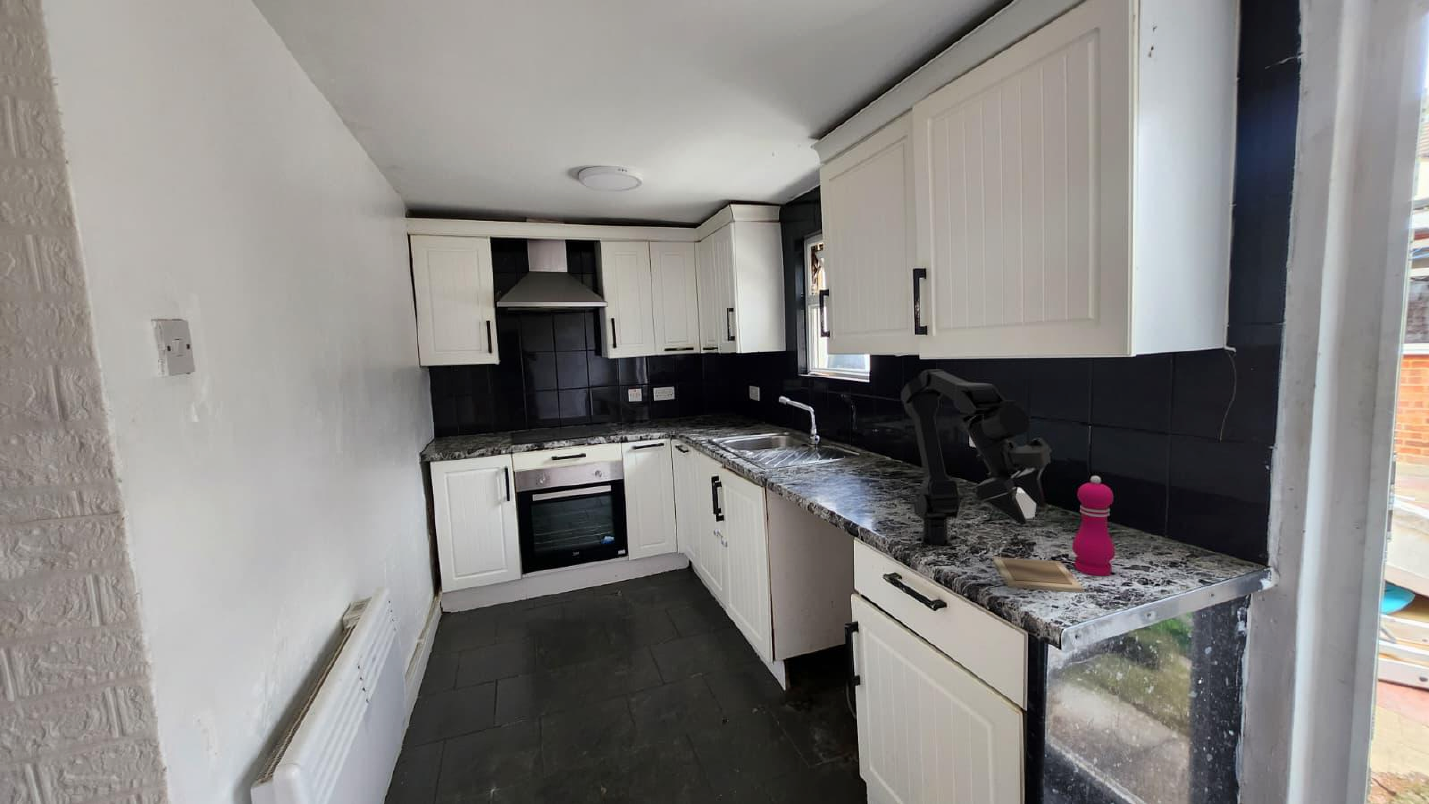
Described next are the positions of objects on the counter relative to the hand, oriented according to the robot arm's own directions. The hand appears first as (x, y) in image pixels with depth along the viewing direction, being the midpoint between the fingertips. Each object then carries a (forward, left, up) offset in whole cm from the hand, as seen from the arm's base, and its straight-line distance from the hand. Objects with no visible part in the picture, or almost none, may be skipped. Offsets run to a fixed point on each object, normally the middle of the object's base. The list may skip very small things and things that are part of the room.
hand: (1033, 515), depth 103 cm
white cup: (-44, +10, -14) cm, 48 cm away
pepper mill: (-9, +14, -14) cm, 22 cm away
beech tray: (-4, +2, -14) cm, 15 cm away
